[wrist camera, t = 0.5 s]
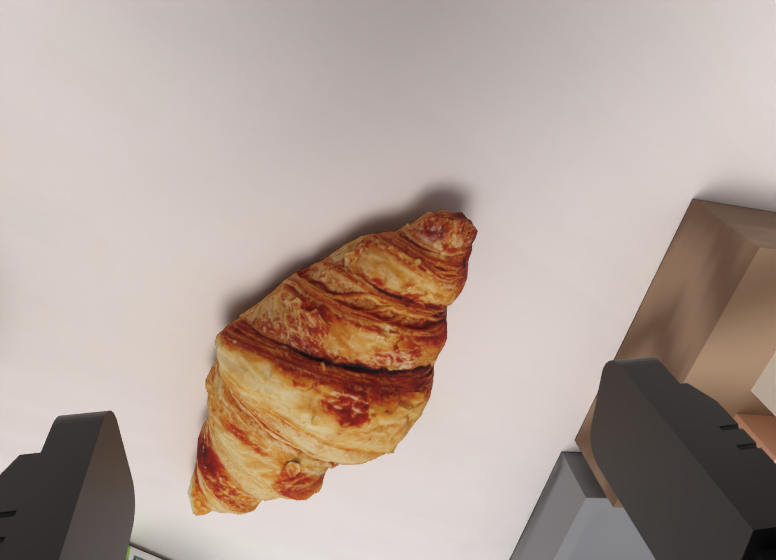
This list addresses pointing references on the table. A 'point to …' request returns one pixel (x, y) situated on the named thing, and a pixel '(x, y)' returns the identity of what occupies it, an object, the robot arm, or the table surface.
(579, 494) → the box
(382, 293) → the croissant
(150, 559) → the syrup box
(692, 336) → the wood grain slab
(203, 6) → the table surface
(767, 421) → the terracotta tile
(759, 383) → the cream tile
